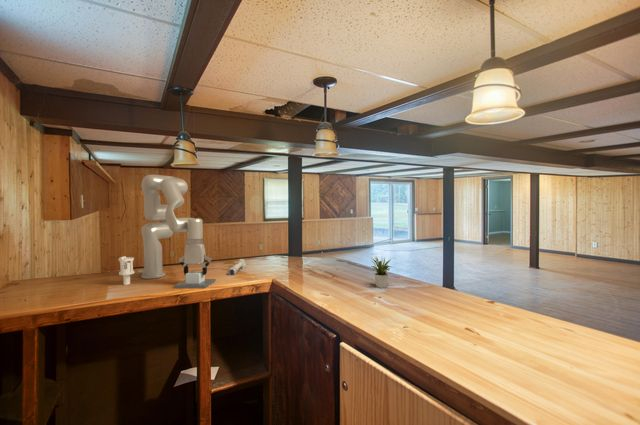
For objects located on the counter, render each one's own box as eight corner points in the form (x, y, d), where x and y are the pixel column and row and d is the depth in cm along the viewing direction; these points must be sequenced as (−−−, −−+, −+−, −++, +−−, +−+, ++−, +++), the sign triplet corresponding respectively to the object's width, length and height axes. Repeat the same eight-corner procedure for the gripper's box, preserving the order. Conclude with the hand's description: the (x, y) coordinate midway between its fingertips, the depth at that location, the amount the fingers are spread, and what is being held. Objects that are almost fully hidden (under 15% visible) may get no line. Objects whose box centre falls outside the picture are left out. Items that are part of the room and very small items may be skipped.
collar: (185, 283, 163) (185, 273, 163) (191, 280, 170) (191, 271, 170) (199, 283, 163) (198, 273, 163) (204, 280, 170) (204, 271, 170)
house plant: (360, 287, 157) (360, 255, 157) (369, 282, 169) (369, 251, 169) (388, 291, 150) (388, 256, 150) (396, 284, 163) (396, 253, 162)
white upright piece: (115, 285, 167) (115, 256, 166) (126, 282, 173) (126, 254, 173) (126, 286, 165) (126, 257, 165) (137, 282, 172) (137, 255, 171)
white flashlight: (226, 269, 189) (239, 256, 214) (227, 279, 190) (239, 266, 215) (235, 269, 189) (246, 256, 214) (236, 279, 190) (247, 266, 215)
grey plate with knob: (174, 288, 160) (174, 275, 160) (187, 281, 174) (186, 269, 174) (205, 288, 159) (205, 275, 159) (215, 281, 173) (215, 269, 173)
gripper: (175, 242, 163) (175, 275, 163) (208, 242, 162) (208, 276, 162) (182, 241, 170) (182, 272, 171) (214, 241, 169) (214, 273, 170)
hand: (195, 274), depth 166 cm, fingers open, 9 cm apart
